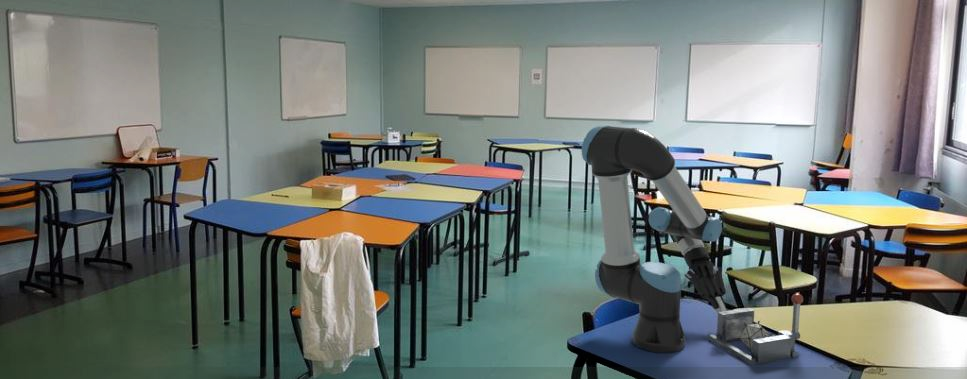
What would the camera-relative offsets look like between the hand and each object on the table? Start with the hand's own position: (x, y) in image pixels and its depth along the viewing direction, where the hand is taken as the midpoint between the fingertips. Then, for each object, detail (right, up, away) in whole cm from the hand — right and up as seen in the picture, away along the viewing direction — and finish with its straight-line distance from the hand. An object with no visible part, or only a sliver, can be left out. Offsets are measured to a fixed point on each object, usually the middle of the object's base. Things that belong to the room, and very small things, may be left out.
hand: (724, 317), depth 212 cm
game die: (+4, -7, -13) cm, 15 cm away
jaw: (+1, -5, -5) cm, 8 cm away
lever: (+16, -4, -13) cm, 21 cm away
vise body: (+4, -7, -12) cm, 14 cm away
